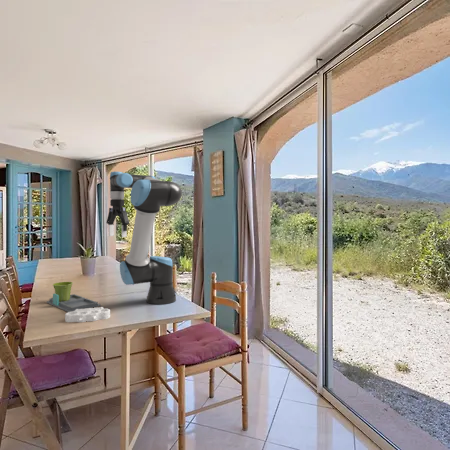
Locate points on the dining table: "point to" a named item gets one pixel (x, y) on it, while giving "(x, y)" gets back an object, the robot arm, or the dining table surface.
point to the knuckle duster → (87, 314)
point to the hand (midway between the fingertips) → (117, 236)
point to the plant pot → (63, 290)
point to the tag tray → (72, 303)
